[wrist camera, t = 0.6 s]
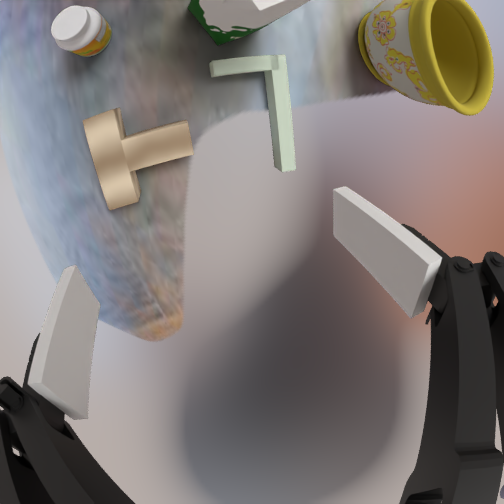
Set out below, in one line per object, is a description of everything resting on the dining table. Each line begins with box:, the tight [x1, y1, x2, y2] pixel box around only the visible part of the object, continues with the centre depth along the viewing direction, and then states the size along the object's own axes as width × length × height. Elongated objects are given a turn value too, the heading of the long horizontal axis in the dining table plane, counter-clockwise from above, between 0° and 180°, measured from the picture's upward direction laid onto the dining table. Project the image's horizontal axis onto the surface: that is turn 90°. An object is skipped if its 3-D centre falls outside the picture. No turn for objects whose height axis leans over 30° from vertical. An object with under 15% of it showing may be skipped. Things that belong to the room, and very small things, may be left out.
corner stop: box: [209, 55, 296, 172], centre depth 32 cm, size 16×9×3 cm, turn 7°
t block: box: [83, 108, 194, 210], centre depth 30 cm, size 12×12×4 cm
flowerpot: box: [358, 0, 494, 116], centre depth 24 cm, size 18×18×16 cm
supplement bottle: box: [51, 6, 112, 57], centre depth 17 cm, size 5×5×10 cm
